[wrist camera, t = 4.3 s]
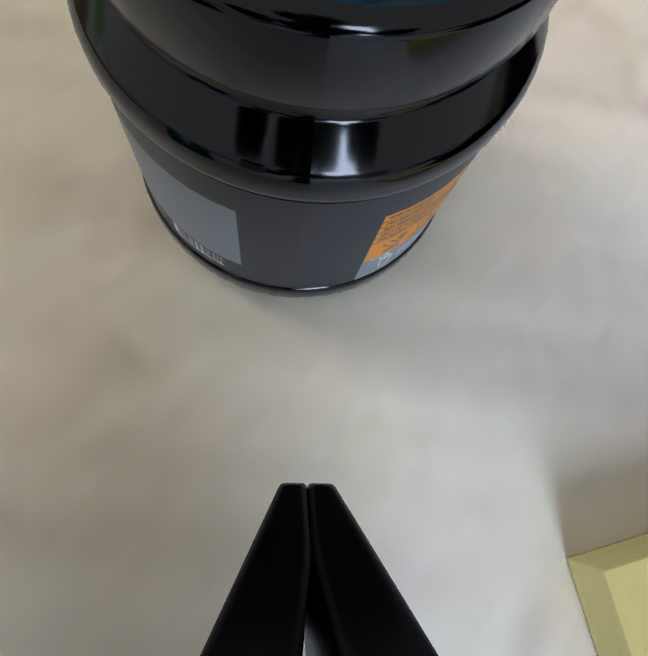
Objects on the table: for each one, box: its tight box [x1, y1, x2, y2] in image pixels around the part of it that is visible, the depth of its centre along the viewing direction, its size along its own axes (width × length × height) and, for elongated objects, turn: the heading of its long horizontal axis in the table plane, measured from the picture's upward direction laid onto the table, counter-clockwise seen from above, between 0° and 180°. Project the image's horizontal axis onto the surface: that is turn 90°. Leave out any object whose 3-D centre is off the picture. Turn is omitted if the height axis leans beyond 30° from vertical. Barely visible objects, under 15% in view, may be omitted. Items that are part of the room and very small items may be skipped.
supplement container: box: [67, 0, 558, 298], centre depth 14 cm, size 10×10×12 cm
